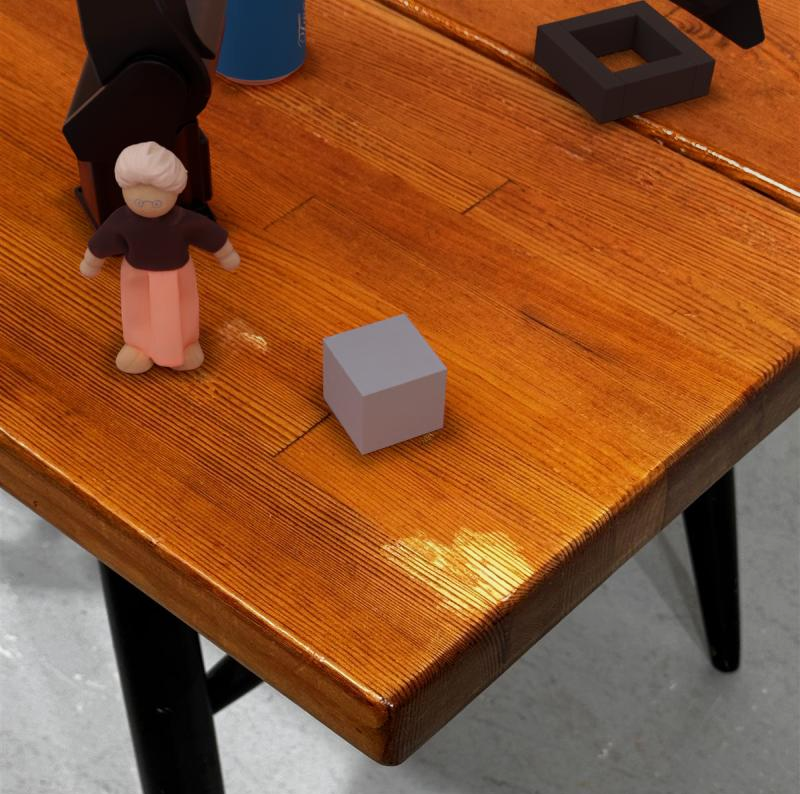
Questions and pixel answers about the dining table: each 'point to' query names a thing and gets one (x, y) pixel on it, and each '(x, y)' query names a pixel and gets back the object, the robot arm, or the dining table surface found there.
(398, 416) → the light grey cube
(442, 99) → the dining table surface
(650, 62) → the dark grey square frame
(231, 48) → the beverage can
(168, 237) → the grandmother figurine
